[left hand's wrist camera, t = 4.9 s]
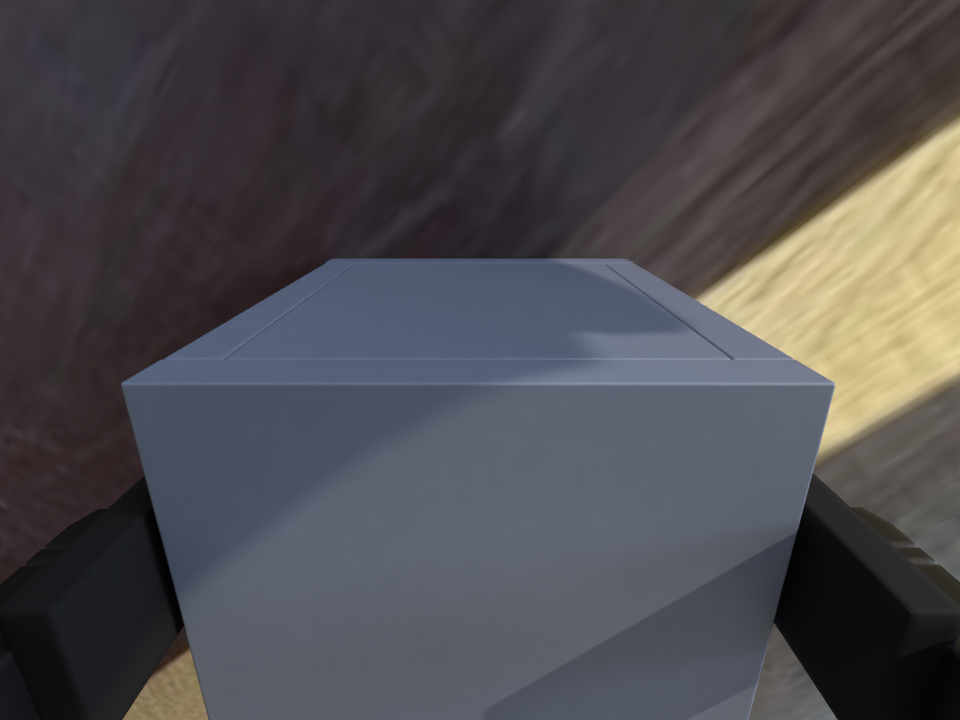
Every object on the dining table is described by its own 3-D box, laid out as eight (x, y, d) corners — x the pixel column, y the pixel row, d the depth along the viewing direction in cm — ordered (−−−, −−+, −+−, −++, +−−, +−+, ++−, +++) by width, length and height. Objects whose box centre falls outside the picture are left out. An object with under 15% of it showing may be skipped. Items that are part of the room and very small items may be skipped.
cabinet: (596, 577, 24) (695, 926, 13) (362, 577, 24) (261, 926, 13) (627, 258, 19) (838, 382, 8) (331, 258, 19) (117, 382, 8)
